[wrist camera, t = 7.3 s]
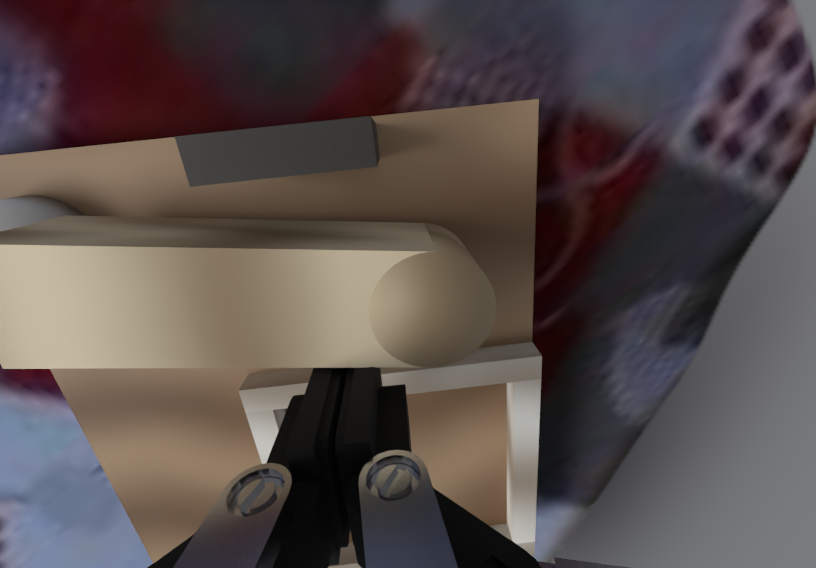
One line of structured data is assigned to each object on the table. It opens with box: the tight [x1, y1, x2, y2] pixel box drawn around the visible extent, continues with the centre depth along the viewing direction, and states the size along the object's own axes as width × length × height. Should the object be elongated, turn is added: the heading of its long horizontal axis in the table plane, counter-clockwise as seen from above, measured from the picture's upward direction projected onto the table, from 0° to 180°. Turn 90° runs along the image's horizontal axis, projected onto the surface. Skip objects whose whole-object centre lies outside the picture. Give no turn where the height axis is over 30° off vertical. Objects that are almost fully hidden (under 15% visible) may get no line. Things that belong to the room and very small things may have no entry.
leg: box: [0, 215, 496, 369], centre depth 10 cm, size 12×3×3 cm, turn 88°
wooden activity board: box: [0, 99, 542, 568], centre depth 13 cm, size 20×18×6 cm
